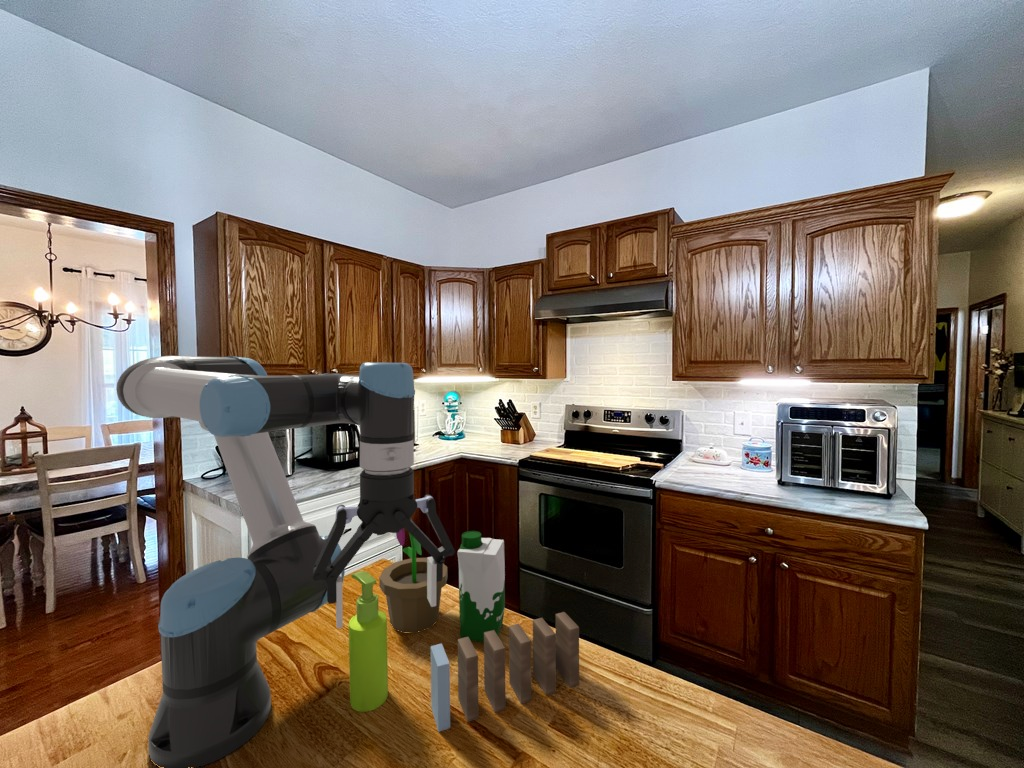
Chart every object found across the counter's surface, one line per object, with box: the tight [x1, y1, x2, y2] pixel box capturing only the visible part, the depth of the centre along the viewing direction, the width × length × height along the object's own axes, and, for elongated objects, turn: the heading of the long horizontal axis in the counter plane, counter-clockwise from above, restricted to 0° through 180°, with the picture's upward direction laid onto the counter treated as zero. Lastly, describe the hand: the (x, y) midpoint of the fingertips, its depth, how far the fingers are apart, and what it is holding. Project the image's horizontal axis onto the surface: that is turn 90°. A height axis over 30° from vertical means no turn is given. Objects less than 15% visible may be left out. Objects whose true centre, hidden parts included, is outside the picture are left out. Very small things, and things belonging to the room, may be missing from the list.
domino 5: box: [532, 617, 557, 696], centre depth 73 cm, size 2×5×10 cm, turn 23°
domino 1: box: [430, 642, 451, 733], centre depth 66 cm, size 2×5×10 cm, turn 23°
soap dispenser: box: [348, 570, 389, 712], centre depth 70 cm, size 6×7×20 cm
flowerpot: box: [378, 528, 448, 633], centre depth 92 cm, size 14×14×30 cm
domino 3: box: [483, 630, 507, 713], centre depth 70 cm, size 2×5×10 cm, turn 23°
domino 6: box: [555, 611, 580, 688], centre depth 75 cm, size 2×5×10 cm, turn 23°
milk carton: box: [456, 530, 506, 643], centre depth 87 cm, size 9×9×20 cm
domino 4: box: [508, 623, 532, 705], centre depth 71 cm, size 2×5×10 cm, turn 23°
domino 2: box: [457, 637, 479, 723], centre depth 68 cm, size 2×5×10 cm, turn 23°
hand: (387, 612), depth 63 cm, fingers open, 12 cm apart
